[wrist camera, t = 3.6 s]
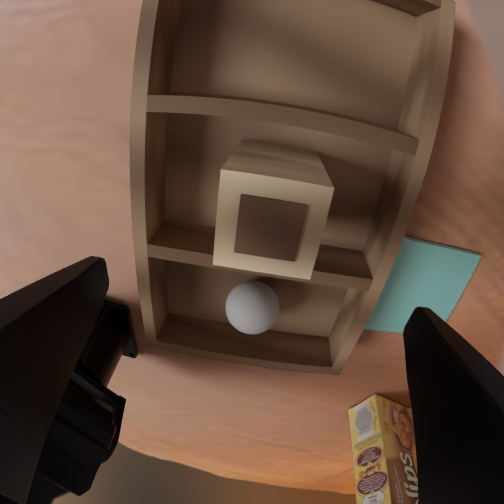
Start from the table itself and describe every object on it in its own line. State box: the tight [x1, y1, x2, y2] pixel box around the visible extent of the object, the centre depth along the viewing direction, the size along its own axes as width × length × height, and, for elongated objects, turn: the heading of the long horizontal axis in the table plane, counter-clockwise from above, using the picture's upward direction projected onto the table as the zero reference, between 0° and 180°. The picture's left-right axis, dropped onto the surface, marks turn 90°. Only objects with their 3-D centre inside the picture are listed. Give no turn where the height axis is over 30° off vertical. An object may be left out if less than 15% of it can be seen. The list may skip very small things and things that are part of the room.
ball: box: [226, 281, 280, 334], centre depth 19 cm, size 3×3×3 cm
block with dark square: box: [213, 139, 334, 280], centre depth 14 cm, size 4×4×6 cm
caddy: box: [130, 0, 456, 375], centre depth 15 cm, size 24×14×3 cm, turn 173°
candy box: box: [348, 394, 419, 504], centre depth 22 cm, size 9×4×15 cm, turn 56°
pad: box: [364, 236, 481, 333], centre depth 20 cm, size 8×8×1 cm
